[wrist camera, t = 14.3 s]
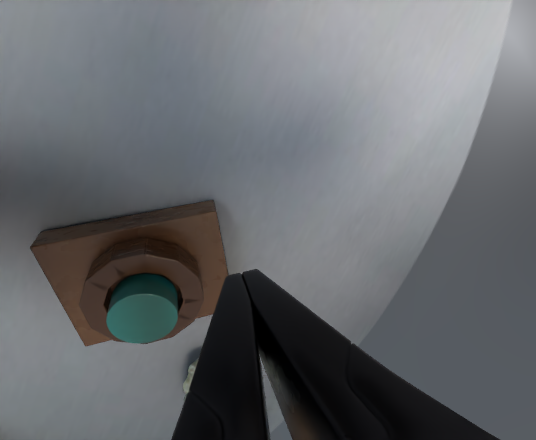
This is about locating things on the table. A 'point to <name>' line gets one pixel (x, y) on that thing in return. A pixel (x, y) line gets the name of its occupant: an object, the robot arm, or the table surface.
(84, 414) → the table surface
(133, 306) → the button
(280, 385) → the robot arm
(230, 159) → the table surface
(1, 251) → the table surface
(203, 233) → the button block
